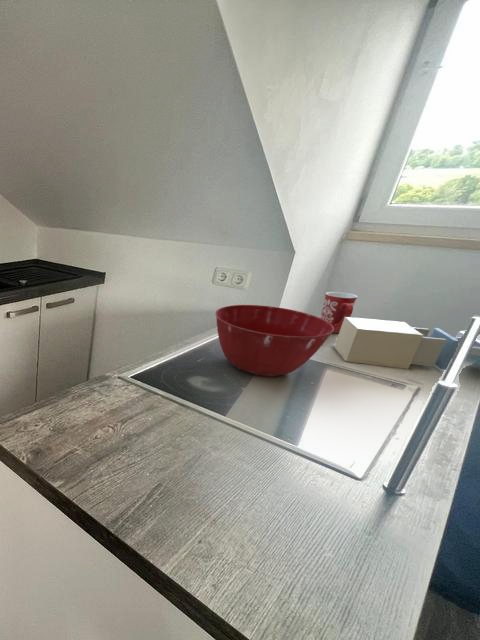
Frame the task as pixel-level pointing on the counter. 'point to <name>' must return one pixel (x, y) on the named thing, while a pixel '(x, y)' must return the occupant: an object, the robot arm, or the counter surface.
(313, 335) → the mixing bowl
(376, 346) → the beige rectangular block
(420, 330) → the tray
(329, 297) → the mug
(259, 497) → the counter surface
